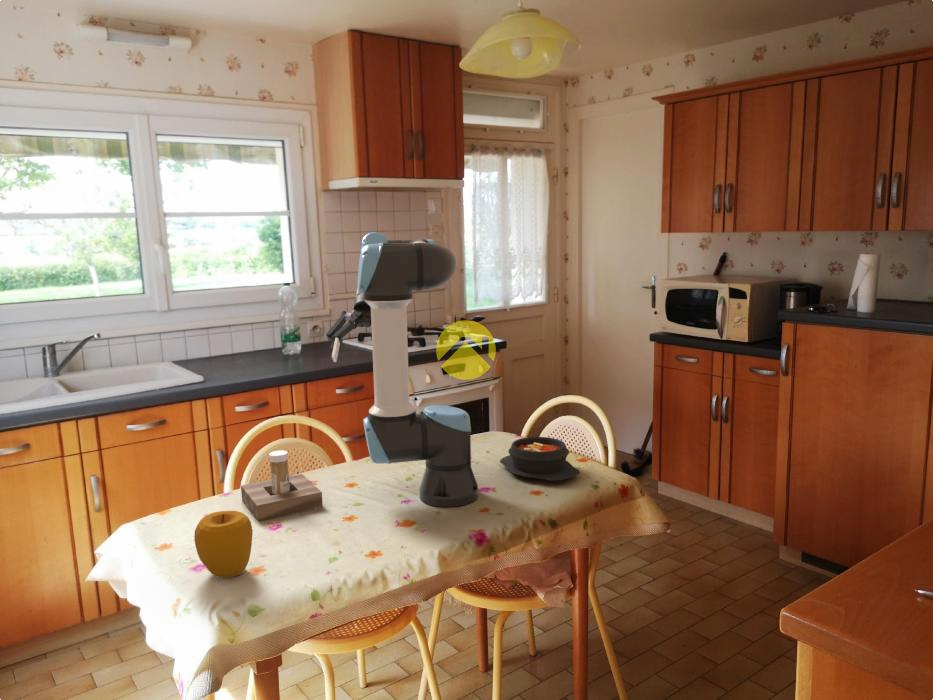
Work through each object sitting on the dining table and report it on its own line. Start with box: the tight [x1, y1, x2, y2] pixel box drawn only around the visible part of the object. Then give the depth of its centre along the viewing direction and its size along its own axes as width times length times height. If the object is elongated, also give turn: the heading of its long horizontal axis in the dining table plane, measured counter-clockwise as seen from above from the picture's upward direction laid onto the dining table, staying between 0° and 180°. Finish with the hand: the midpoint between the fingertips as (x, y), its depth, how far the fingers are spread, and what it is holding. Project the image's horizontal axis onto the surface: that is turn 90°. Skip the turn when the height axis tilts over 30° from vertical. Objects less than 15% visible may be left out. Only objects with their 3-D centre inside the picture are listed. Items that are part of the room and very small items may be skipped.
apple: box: [193, 510, 253, 579], centre depth 140 cm, size 11×11×13 cm
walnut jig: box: [240, 473, 324, 522], centre depth 177 cm, size 16×16×4 cm
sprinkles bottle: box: [268, 450, 290, 495], centre depth 177 cm, size 5×5×14 cm
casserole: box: [499, 436, 581, 482], centre depth 196 cm, size 25×19×8 cm
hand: (357, 359), depth 195 cm, fingers open, 13 cm apart
